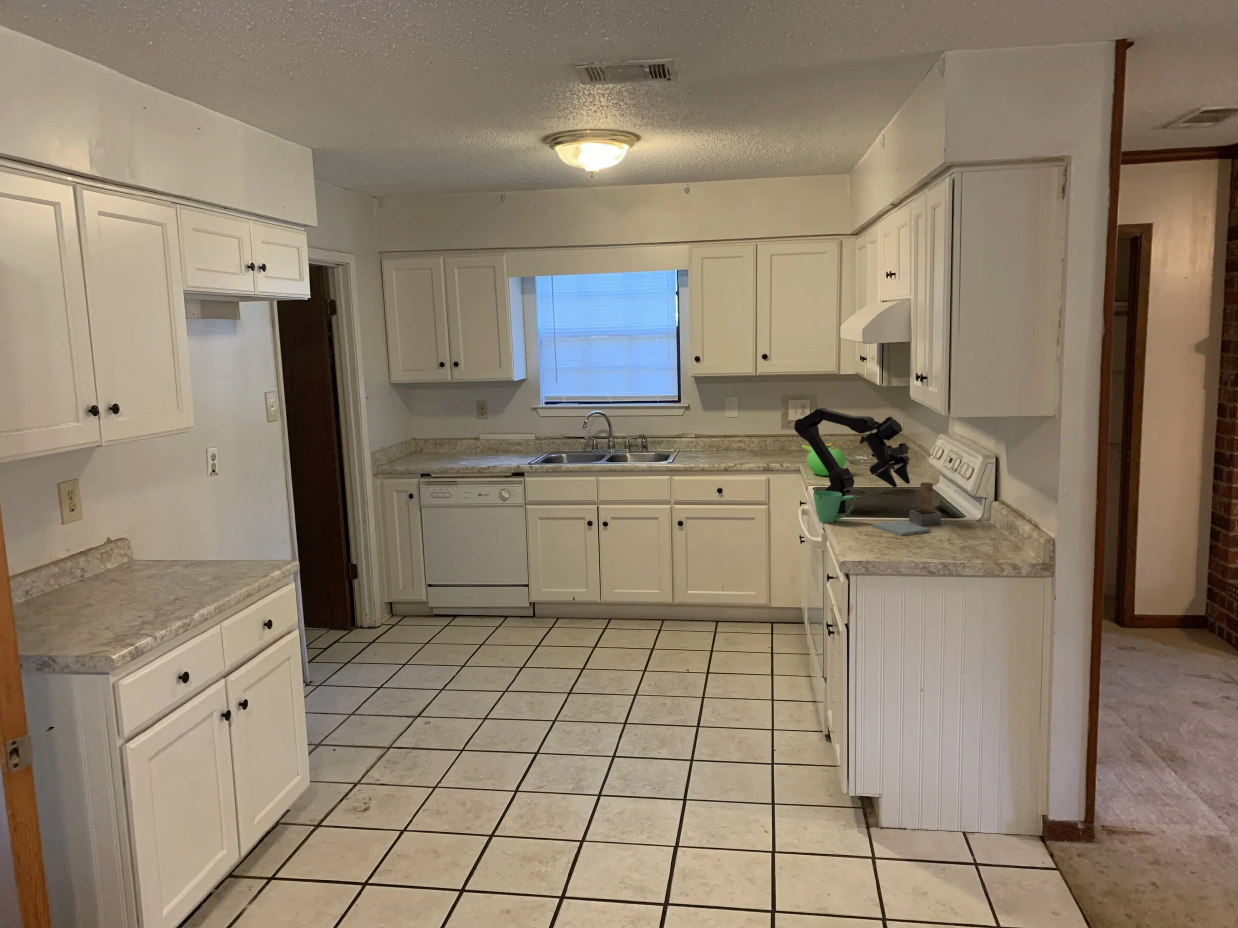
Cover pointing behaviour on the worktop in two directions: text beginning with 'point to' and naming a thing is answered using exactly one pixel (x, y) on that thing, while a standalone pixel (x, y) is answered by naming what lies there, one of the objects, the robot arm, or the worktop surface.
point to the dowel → (925, 498)
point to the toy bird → (817, 465)
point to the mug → (830, 505)
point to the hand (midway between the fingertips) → (902, 485)
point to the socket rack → (925, 518)
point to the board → (901, 528)
